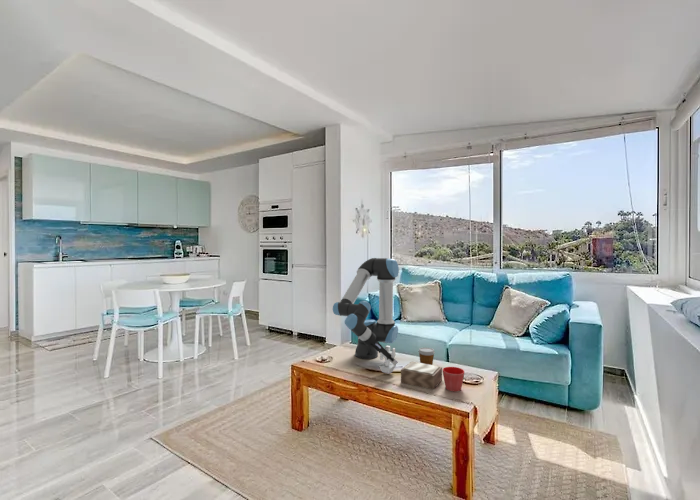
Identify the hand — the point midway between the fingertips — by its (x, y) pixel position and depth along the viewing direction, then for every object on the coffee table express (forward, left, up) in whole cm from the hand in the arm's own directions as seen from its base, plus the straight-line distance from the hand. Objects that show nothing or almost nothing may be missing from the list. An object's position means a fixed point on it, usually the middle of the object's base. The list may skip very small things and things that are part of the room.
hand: (392, 361), depth 213 cm
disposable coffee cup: (+15, +16, -7) cm, 23 cm away
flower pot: (+36, -4, -7) cm, 37 cm away
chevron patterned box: (+18, -3, -7) cm, 20 cm away
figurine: (-2, -3, -6) cm, 7 cm away
